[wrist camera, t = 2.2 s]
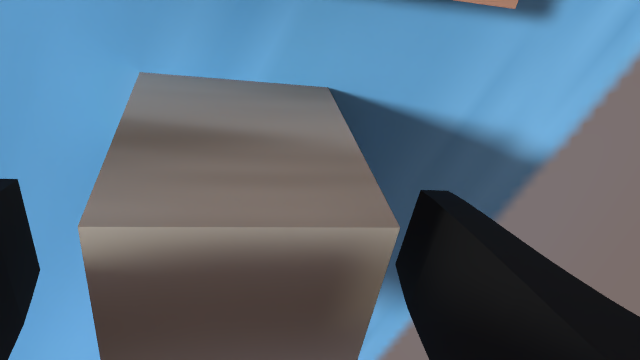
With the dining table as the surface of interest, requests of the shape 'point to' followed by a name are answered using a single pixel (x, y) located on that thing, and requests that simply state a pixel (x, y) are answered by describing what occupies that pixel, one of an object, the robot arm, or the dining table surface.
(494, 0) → the terracotta base
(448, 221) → the robot arm
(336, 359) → the ash block
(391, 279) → the dining table surface
